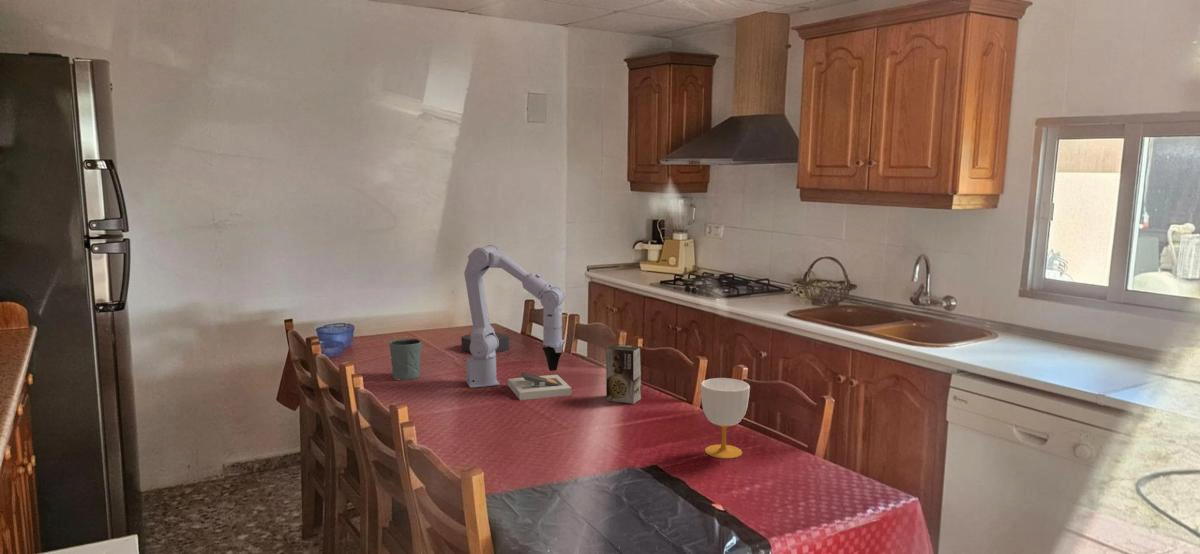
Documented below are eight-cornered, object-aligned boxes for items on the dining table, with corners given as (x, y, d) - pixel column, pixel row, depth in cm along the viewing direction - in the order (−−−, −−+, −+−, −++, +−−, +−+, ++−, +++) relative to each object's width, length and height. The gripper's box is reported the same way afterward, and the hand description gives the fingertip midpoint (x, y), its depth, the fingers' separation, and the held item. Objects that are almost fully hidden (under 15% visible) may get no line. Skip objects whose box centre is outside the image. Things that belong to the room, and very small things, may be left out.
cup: (736, 464, 183) (738, 394, 181) (691, 454, 189) (692, 386, 187) (755, 449, 193) (757, 382, 191) (711, 440, 199) (712, 375, 197)
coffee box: (641, 398, 235) (642, 346, 232) (633, 404, 229) (634, 350, 227) (614, 394, 238) (614, 343, 236) (605, 400, 233) (605, 347, 230)
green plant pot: (384, 379, 255) (383, 343, 253) (403, 371, 264) (402, 336, 263) (410, 382, 251) (409, 346, 250) (428, 374, 261) (427, 339, 259)
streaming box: (458, 350, 296) (458, 336, 295) (488, 343, 307) (488, 330, 306) (482, 356, 286) (482, 342, 286) (512, 349, 297) (512, 336, 296)
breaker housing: (520, 400, 233) (519, 388, 232) (508, 385, 248) (508, 375, 247) (571, 395, 238) (571, 384, 237) (557, 381, 253) (557, 370, 252)
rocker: (524, 379, 238) (526, 375, 238) (521, 375, 243) (522, 371, 243) (557, 388, 242) (559, 384, 242) (553, 384, 247) (554, 380, 247)
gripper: (571, 331, 236) (571, 375, 238) (558, 322, 249) (558, 363, 251) (549, 332, 233) (549, 376, 235) (537, 323, 247) (537, 365, 249)
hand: (552, 370), depth 243 cm, fingers closed
